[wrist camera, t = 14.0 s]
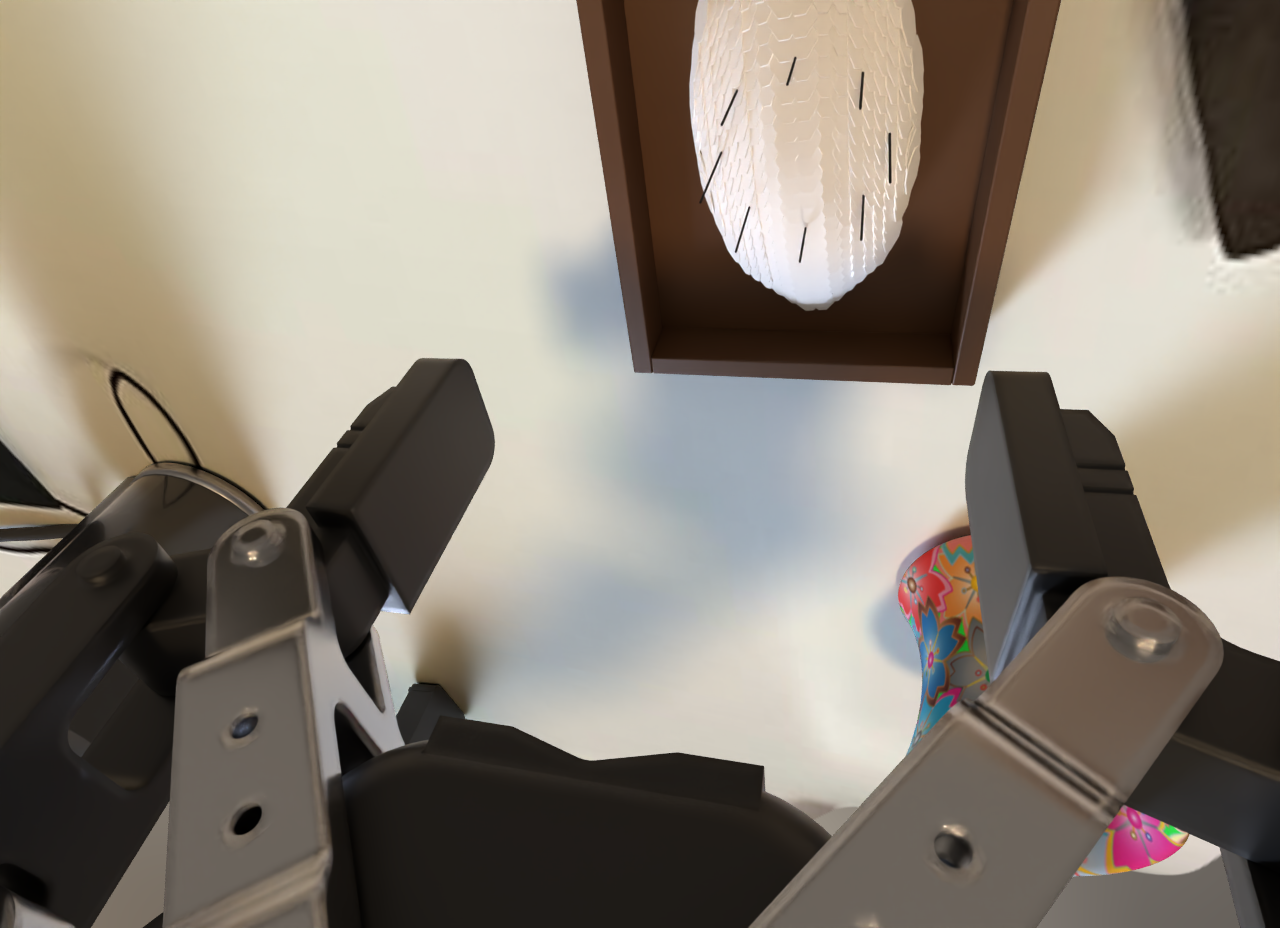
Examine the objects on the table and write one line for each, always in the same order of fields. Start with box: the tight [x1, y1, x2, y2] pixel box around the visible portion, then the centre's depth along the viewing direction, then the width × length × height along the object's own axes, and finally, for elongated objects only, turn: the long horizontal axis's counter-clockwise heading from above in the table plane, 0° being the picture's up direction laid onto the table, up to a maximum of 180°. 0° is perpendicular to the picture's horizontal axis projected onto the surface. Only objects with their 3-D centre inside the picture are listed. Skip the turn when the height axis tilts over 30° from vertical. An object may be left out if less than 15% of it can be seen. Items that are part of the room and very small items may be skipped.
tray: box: [576, 0, 1061, 386], centre depth 21 cm, size 11×16×3 cm
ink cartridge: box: [396, 684, 465, 745], centre depth 53 cm, size 5×2×8 cm, turn 18°
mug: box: [898, 535, 1189, 876], centre depth 30 cm, size 12×9×11 cm
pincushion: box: [689, 0, 924, 311], centre depth 19 cm, size 12×6×6 cm, turn 13°
